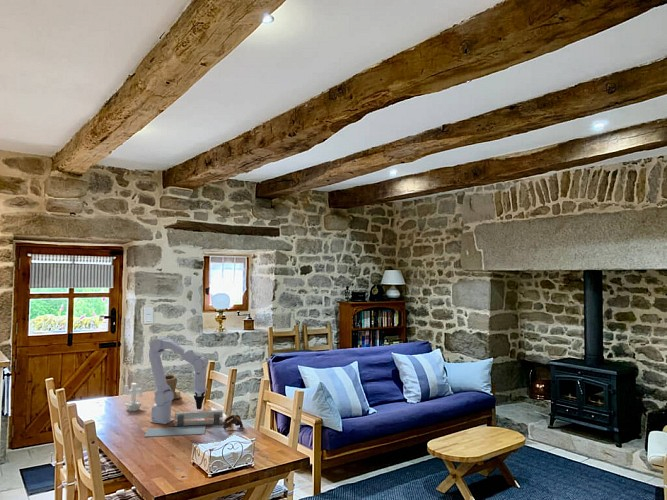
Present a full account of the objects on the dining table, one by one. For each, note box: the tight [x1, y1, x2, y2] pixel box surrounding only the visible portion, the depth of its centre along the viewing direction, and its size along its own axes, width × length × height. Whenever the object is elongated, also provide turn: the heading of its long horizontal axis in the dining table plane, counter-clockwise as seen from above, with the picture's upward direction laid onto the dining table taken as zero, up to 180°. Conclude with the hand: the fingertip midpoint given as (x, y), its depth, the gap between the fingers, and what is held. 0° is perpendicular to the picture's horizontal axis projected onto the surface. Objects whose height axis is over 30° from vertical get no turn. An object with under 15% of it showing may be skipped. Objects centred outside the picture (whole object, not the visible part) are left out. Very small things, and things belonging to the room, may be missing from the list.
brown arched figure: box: [222, 414, 245, 432], centre depth 253 cm, size 12×10×8 cm
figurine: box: [124, 382, 143, 412], centre depth 283 cm, size 7×9×15 cm
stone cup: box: [165, 374, 181, 400], centre depth 306 cm, size 15×12×15 cm
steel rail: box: [174, 409, 224, 421], centre depth 259 cm, size 24×3×3 cm, turn 103°
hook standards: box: [173, 414, 223, 427], centre depth 258 cm, size 24×7×6 cm, turn 103°
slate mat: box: [143, 426, 207, 438], centre depth 246 cm, size 28×12×1 cm, turn 103°
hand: (199, 407), depth 259 cm, fingers open, 7 cm apart
